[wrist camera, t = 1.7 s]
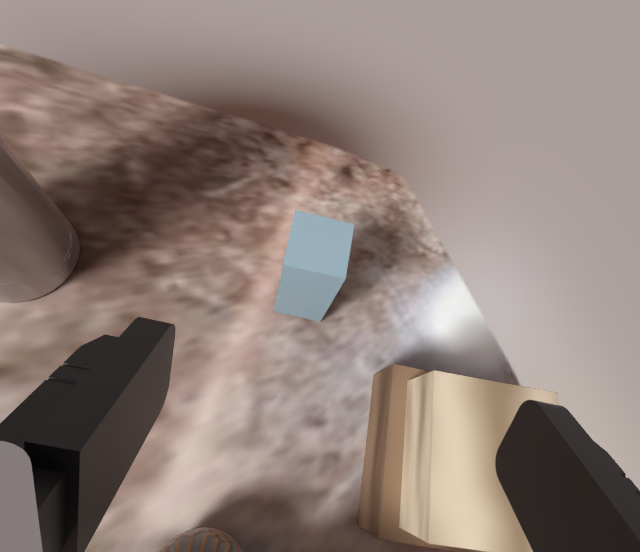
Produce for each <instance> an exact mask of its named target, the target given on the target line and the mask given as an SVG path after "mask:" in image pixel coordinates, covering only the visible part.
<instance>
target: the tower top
mask: <svg viewBox="0 0 640 552" xmlns="http://www.w3.org/2000/svg"><path fill="white" fill-rule="evenodd" d="M526 400H535V401H540V402H544V403H549V404H554V405H558V396H557V393H556V392H550V391H545V390H539V389H534V388H529V387H523V386H518V385H512V384H507V383H501V382H496V381H490V380H485V379H479V378H474V377H468V376H463V375H457V374H452V373H446V372H441V371H435V370H434V371H431V372H429V373H426V374H423V375H421V376H418V377H416V378H413V379H411V380H408V381H407V398H406V416H405V433H404V451H403V469H402V486H401V504H400V522H399V528H401V529H403V530H405V531H407V532H409V533H410V534H412V535H414V536H416V537H418V538H420V539H421V540H423V541H425V542H427V543H429V544H436V545H443V546H450V547H457V548H464V549H472V550H479V551H486V552H533V550H532V548H531V546H530V544H529V542H528V540H527V538H526V536H525V534H524V532H523V530H522V528H521V525H520V523H519V521H518V519H517V517H516V515H515V513H514V511H513V509H512V507H511V505H510V502H509V500H508V498H507V496H506V494H505V492H504V490H503V488H502V486H501V484H500V482H499V479H498V477H497V474H496V467H495V459H496V453H497V450H498V448H499V446H500V444H501V442H502V440H503V438H504V436H505V434H506V432H507V430H508V428H509V426H510V425H511V423H512V421H513V419H514V417H515V415H516V413H517V411H518V409H519V407H520V406H521V404H522V403H523V402H525V401H526Z"/></svg>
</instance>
